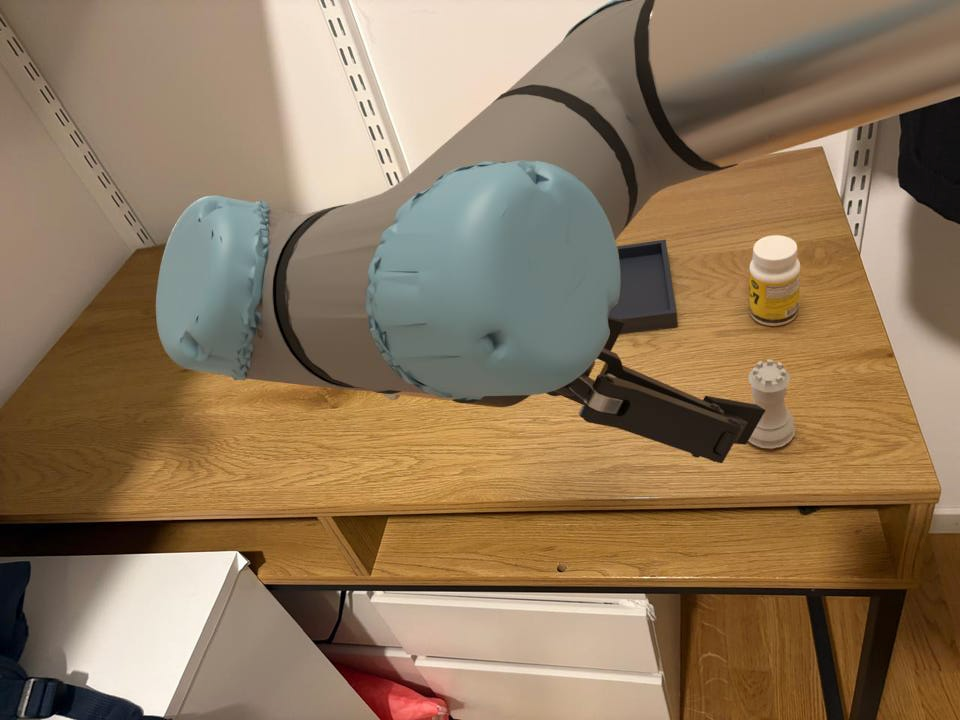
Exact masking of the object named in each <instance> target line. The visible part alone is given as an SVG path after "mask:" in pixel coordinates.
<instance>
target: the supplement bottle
mask: <svg viewBox="0 0 960 720" xmlns="http://www.w3.org/2000/svg"><path fill="white" fill-rule="evenodd" d="M748 273H749V276H748V277H749V282H748V283H749V284H748V285H749V286H748V287H749V288H748V291H749V293H748V294H749V295H748V296H749V301H748V303H749V306H748V307H749V309H748V310H749V314H750V316H751V317H752V319H753V320H754V321H755V322H757V323H759V324H761V325H764V326H769V327H776V326H782V325H786V324H789V323H790V322H792V321H793V320H794V319H795V318H796V317H797V315H798V313H799V308H800V307H799V305H800V287H801V286H800V285H801V263H800V260H799V259H798V245H797V242H796V241H795V240H794V239H793V238H791V237H788V236H786V235H781V234H780V235H779V234H778V235H777V234H775V235H774V234H773V235H767V236H764V237H761V238H760V239H758V240H757V241H756V242H755V243H754V244H753V247H752V259H751V261H750V263H749V270H748Z"/></svg>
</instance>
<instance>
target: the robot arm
mask: <svg viewBox="0 0 960 720" xmlns="http://www.w3.org/2000/svg"><path fill="white" fill-rule="evenodd" d="M958 97H960V0H610V1H608V2H606V3H605V4H603V5H601V6H599V7H598V8H596V9H595V10H593V11H592V12H591V13H589V14H588V15H586V16H585V17H584V18H582V19H581V20H579V21H578V22H577V23H576V24H575V25H573V26H572V27H571V28H570V29H569V30H568V31H567V33H566V35H565V36H564V38H563V39H562V40H561V41H560V42H559V43H558V44H557V45H556V46H555V47H553V49H552V50H551V51H549V53H547V54H546V55H545V56H544V57H542V58H541V59H540V60H539V61H538V62H537V64H535V65H534V66H533V67H532V68H530V69H529V70H528V71H527V72H526V73H525V74H524V75H523V76H521V78H519V80H517V81H516V82H515V83H514V84H513V85H512V86H511V87H510V88H509V89H507V90H506V91H505V92H504V93H501V94H500V95H499V96H498V97H497V98H496V99H495V100H494V101H492V102H491V103H490V104H489V105H488V106H486V107H485V108H484V109H483V110H482V111H481V112H479V113H478V114H477V115H476V116H475V117H473V119H471V120H470V121H469V122H468V123H467V124H466V125H465V126H463V127H462V128H461V129H460V130H458V131H457V132H456V133H455V134H454V135H452V136H451V137H450V138H449V139H448V140H447V141H446V142H445V143H443V144H442V145H441V146H440V147H439V148H438V149H436V150H435V151H434V152H433V153H432V154H431V155H430V156H428V158H426V159H425V160H424V161H422V163H421V164H419V165H418V166H417V167H416V168H415V169H414V170H413V171H411V172H410V173H409V174H408V175H407V176H406V177H404V178H403V179H402V180H401V181H400V182H398V183H396V184H395V185H394V186H393V187H391V188H389V189H387V190H386V191H384V192H381V193H379V194H377V195H374V196H370V197H368V198H364V199H360V200H357V201H355V202H351V203H346V204H339V205H335V206H331V207H327V208H324V209H319V210H316V211H312V212H309V213H308V212H307V213H305V214H300V213H299V214H298V213H290V212H287V211H284V210H280V209H277V208H273V207H271V206H270V205H269V203H268V202H265V201H262V200H259V201H256V202H254V201H249V200H242V199H237V198H232V197H227V196H222V195H207V196H203V197H200V198H199V199H197V200H195V201H194V202H192V203H191V204H190V205H189V206H188V207H187V208H185V210H184V211H183V212H182V213H181V215H180V216H179V218H178V219H177V221H176V222H175V224H174V226H173V228H172V230H171V232H170V235H169V237H168V240H167V242H166V245H165V248H164V251H163V254H162V258H161V261H160V262H161V263H160V267H159V272H158V278H157V287H156V293H155V295H156V296H155V319H156V328H157V334H158V336H159V340H160V342H161V345H162V348H163V350H164V352H165V353H166V355H167V356H168V358H170V359H171V360H172V361H173V362H174V363H175V364H176V365H177V366H179V367H181V368H183V369H186V370H189V371H195V372H200V373H206V374H212V375H213V374H214V375H219V376H224V377H230V378H232V379H233V380H234V381H246V380H254V381H264V382H270V383H271V382H273V383H280V384H282V383H283V384H289V385H290V384H291V385H299V386H306V387H317V388H328V389H329V388H330V389H338V390H339V389H340V390H352V391H362V392H364V391H365V392H372V393H377V394H383V396H384V397H385V398H387V399H388V400H390V401H397V400H398V399H399V398H400V397H401V396H403V397H410V398H411V397H412V398H421V399H429V400H430V399H431V400H439V401H451V402H454V403H458V404H466V405H473V406H483V407H491V408H508V407H512V406H515V405H517V404H520V403H521V402H523V401H525V400H526V399H528V398H529V397H531V396H537V395H543V394H546V395H549V396H551V397H559V396H560V397H563V398H566V399H568V400H570V401H573V402H575V403H577V404H580V405H581V408H580V410H579V412H578V415H579V417H580V418H582V419H583V420H584V421H585V422H587V423H589V424H593V425H600V426H604V427H611V428H615V429H618V430H622V431H625V432H628V433H630V434H633V435H636V436H638V437H642V438H645V439H649V440H651V441H654V442H657V443H660V444H663V445H666V446H669V447H671V448H674V449H677V450H680V451H683V452H686V453H689V454H690V455H691V456H692V457H694V458H697V459H698V458H700V457H701V458H704V459H706V460H709V461H711V462H713V463H718V464H723V463H724V461H725V460H726V457H727V456H728V454H729V453H730V451H731V449H732V448H733V446H734V444H736V445H747V443H748V442H749V441H748V440H749V438H750V437H751V435H752V433H753V432H754V430H755V428H756V426H757V425H758V423H759V421H760V419H761V418H762V416H763V414H764V413H765V411H766V410H765V409H763V408H761V407H760V406H758V405H756V404H752V403H750V402H744V401H739V400H734V399H733V400H732V399H725V398H722V397H715V396H711V395H710V396H709V395H705V396H704V397H703V399H702V398H699V397H697V396H694V395H692V394H690V393H687V392H686V391H683V390H680V389H678V388H676V387H673V386H672V385H669V384H667V383H664V382H662V381H660V380H657V379H655V378H653V377H650V376H648V375H646V374H644V373H642V372H639V371H637V370H635V369H633V368H630V367H628V366H625V365H623V362H622V360H621V358H620V356H619V354H618V353H616V352H613V351H612V350H613V348H614V346H615V344H616V342H617V340H618V338H619V336H620V332H621V330H622V328H623V326H624V324H625V323H624V322H623V321H621V320H619V319H617V318H613V317H609V313H610V310H611V309H612V307H614V306H615V305H616V304H618V301H619V295H620V262H619V254H618V249H617V246H618V245H617V242H616V241H617V240H618V238H619V236H620V235H621V234H622V233H623V231H624V230H625V229H626V228H627V227H628V225H630V224H631V222H632V221H633V220H634V218H636V216H637V214H638V213H640V211H642V209H643V208H644V207H645V205H646V204H647V203H648V202H649V201H650V199H651V198H653V196H654V195H656V194H658V193H659V192H661V191H662V190H664V189H667V188H669V187H671V186H675V185H677V184H678V185H679V184H682V183H685V182H688V181H692V180H694V179H698V178H701V177H704V176H708V175H711V174H714V173H717V172H720V171H723V170H727V169H729V168H732V167H736V166H738V165H739V164H742V163H745V162H748V161H752V160H754V159H757V158H761V157H764V156H767V155H771V154H774V153H778V152H781V151H784V150H787V149H790V148H794V147H797V146H801V145H804V144H807V143H810V142H814V141H817V140H820V139H823V138H827V137H831V136H833V135H836V134H841V133H843V132H846V131H850V130H853V129H856V128H859V127H863V126H866V125H869V124H873V123H876V122H880V121H882V120H885V119H889V118H892V117H895V116H899V115H902V114H906V113H909V112H912V111H915V110H919V109H921V108H925V107H928V106H931V105H935V104H938V103H942V102H945V101H948V100H952V99H954V98H958ZM597 360H599V361H602V362H604V364H603V366H602V368H601V370H600V372H599V374H597V375H596V378H595V379H593V378H591V377H590V375H591V373H592V372H593V369H594V367H595V365H596V361H597Z"/></svg>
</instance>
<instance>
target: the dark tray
mask: <svg viewBox="0 0 960 720" xmlns="http://www.w3.org/2000/svg"><path fill="white" fill-rule="evenodd" d="M617 249H618V254H619V262H620V295H619V301H618V304H616V305H615V306H614V307H612V309H611V310H610V313H609V317H613V318H617V319H619V320H621V321H623V322H624V323H625V324H624V326H623V328H622V330H621V332H620V334H621V335H622V334H629V333H638V332H646V331H647V332H648V331H655V330H663V329H671V328H678V327H679V326H678V325H679V324H678V315H677V314H678V313H677V308H676V307H677V306H676V300H675V294H674V285H673V280H672V272H671V266H670V265H671V264H670V259H669V258H670V257H669V253H668V246H667V239H659V240H651V241H645V242H638V243H631V244H624V245H617ZM620 334H619V335H620Z"/></svg>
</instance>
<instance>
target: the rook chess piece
mask: <svg viewBox="0 0 960 720" xmlns="http://www.w3.org/2000/svg"><path fill="white" fill-rule="evenodd" d="M790 375H791V374H789V372H788V370H787V368H784V363H782V362H781V361H778V362H776V363H774V359H772V358H771V359H768V358H767V359H766V362H765V363H764V362H763V361H762V360H759V361H758V362H756V364H755V366H753V368H752V370H750V372H749V373H748V378H747V379H748V382H749V384H750V386H751V388H750V389H751V390H750V392H751V394H752V396H753V399H752V403H751V404H756V405H758V406H760V407H761V408H763V409H765V410H766V411H765V413H764V414H763V416H762V418H761V419H760V421H759V423H758V425H757V426H756V428H755V430H754V432H753V433H752V435H751V437H750V438H749V440H748V442H749V443H750V444H752V445H753V446H756V447H758V448H761V449H767V450H773V449H778V448H782V447H783V446H785V445H787V444H789V443H790V442H791V441H792V439H793V438H794V436H795V433H796V432H795V431H796V427H795V419H794V417H793V415H792V413H791V411H790V410H789V409H788V407H787V406H786V401H785V397H786V395H787V390H788V389H787V387H788V385H789V384H790V383H791V376H790Z"/></svg>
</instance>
